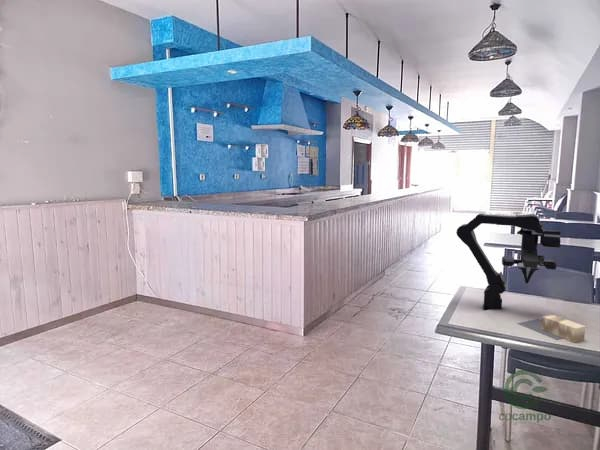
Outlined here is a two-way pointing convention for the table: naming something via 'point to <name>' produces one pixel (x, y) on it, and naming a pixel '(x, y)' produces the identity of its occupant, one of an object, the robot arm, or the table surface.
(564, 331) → the maple block
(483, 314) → the table surface
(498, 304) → the robot arm
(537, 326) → the rubber mat
